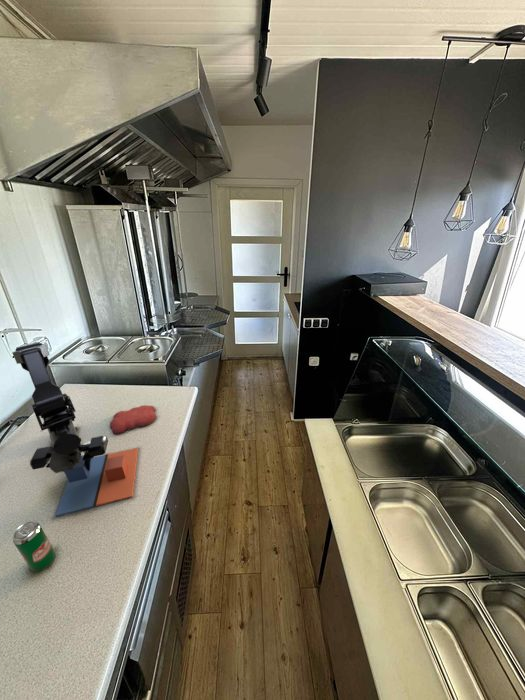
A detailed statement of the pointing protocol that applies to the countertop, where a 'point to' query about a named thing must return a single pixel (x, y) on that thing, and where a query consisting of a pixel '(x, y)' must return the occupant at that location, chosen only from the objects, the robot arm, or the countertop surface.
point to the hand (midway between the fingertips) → (79, 471)
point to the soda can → (34, 545)
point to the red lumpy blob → (132, 419)
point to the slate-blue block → (78, 472)
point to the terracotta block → (116, 468)
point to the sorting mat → (99, 485)
